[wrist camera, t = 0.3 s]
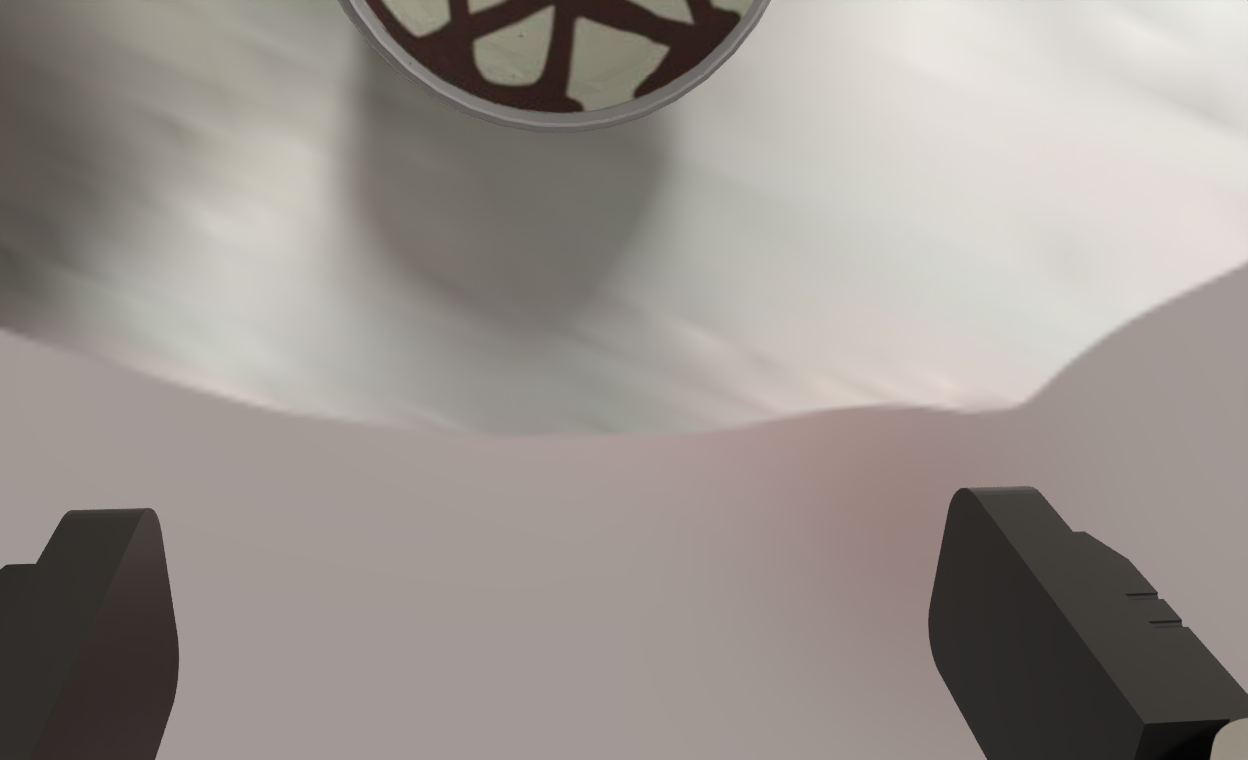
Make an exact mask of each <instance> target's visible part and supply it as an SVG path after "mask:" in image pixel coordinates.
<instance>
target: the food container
mask: <svg viewBox="0 0 1248 760" xmlns="http://www.w3.org/2000/svg"><path fill="white" fill-rule="evenodd" d="M338 1H339V3H340V5H341V7H342V8H343V10H344V12H345V13H346V14H347V16H348V17H349V18H350V20H351V21H352V22H353V24H354V25H355V26H356V28H357V29H358V30H359V32H360V33H361V34H362V36H363V37H364V38H365V40H366V41H367V42H368V44H369V45H370V46H371V47H372V48H373V49H374V50H375V51H376V52H377V53H378V54H380V55H381V56H382V57H383V58H384V59H385V60H386V61H387V62H388V63H389V64H390V65H391V66H392V67H393V68H394V69H395V70H396V71H397V72H398V73H399V74H401V75H402V76H403V77H405V78H406V79H408V80H409V81H410V82H412V83H413V84H414V85H416V86H417V87H419V88H420V89H421V90H423V91H424V92H425V93H427V94H428V95H430V96H432V97H434V98H435V99H437V100H439V101H441V102H443V103H445V104H447V105H449V106H451V107H453V108H455V109H457V110H459V111H461V112H463V113H465V114H468V115H471V116H474V117H477V118H480V119H483V120H486V121H489V122H492V123H495V124H498V125H501V126H507V127H513V128H519V129H524V130H530V131H536V132H579V131H586V130H593V129H600V128H607V127H611V126H614V125H618V124H621V123H624V122H627V121H631V120H634V119H637V118H640V117H644V116H646V115H648V114H650V113H652V112H654V111H656V110H658V109H660V108H662V107H664V106H666V105H668V104H670V103H672V102H674V101H676V100H678V99H679V98H681V97H682V96H684V95H685V94H686V93H688V92H689V91H691V90H692V89H694V88H695V87H697V86H698V85H699V84H701V83H702V82H704V81H705V80H707V79H708V78H709V77H710V76H711V75H712V74H713V73H714V72H715V71H716V70H717V69H718V68H719V67H720V66H721V65H723V64H724V63H725V62H726V61H727V60H728V59H729V58H730V57H731V56H732V55H733V54H734V53H735V52H736V50H737V49H738V48H739V47H740V45H741V44H742V43H743V42H744V40H745V39H746V38H747V36H748V35H749V34H750V33H751V31H752V30H753V29H754V28H755V26H756V25H757V24H758V22H759V20H760V19H761V17H762V15H763V13H764V12H765V10H766V8H767V6H768V5H769V3H770V1H771V0H338Z"/></svg>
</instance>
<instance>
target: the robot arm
mask: <svg viewBox="0 0 1248 760" xmlns="http://www.w3.org/2000/svg"><path fill="white" fill-rule="evenodd" d="M1157 594H1158V592H1157V591H1156V590H1155V589H1154V588H1153V587H1152V586H1151V585H1150V583H1149V582H1148V581H1147V580H1146V579H1145V578H1144V577H1143V575H1142V574H1141V573H1140V572H1139V571H1138V570H1137V569H1136V567H1135V566H1134V565H1133V564H1132V563H1131V562H1130V561H1129V560H1128V559H1127V558H1125V557H1124V556H1122V555H1120V554H1119V553H1117V552H1116V551H1114V550H1112V549H1111V548H1110V547H1108V546H1106V545H1105V544H1103V543H1102V542H1100V541H1099V540H1097V539H1095V538H1094V537H1092V536H1091V535H1089V534H1088V533H1086V532H1073V531H1072V530H1071V529H1070V528H1069V526H1068V525H1067V524H1066V523H1065V522H1064V521H1063V519H1062V518H1061V517H1060V516H1059V515H1058V513H1057V512H1056V511H1055V510H1054V509H1053V507H1052V506H1051V505H1050V504H1049V503H1048V501H1047V500H1046V499H1045V498H1044V497H1043V496H1042V494H1041V493H1040V492H1039V491H1038V490H1037V489H1035V488H1033V487H1030V486H1017V487H981V488H961V489H959V490H958V491H957V492H956V493H955V494H954V496H953V498H952V500H951V503H950V506H949V510H948V515H947V520H946V525H945V530H944V535H943V540H942V545H941V551H940V556H939V561H938V566H937V571H936V577H935V582H934V587H933V592H932V597H931V602H930V609H929V619H928V626H929V639H930V645H931V650H932V654H933V658H934V661H935V664H936V666H937V669H938V671H939V673H940V675H941V676H942V678H943V680H944V682H945V684H946V685H947V687H948V689H949V690H950V693H951V694H952V696H953V698H954V700H955V702H956V704H957V706H958V707H959V709H960V711H961V713H962V715H963V716H964V718H965V720H966V722H967V724H968V726H969V727H970V729H971V731H972V733H973V734H974V736H975V738H976V740H977V742H978V744H979V746H980V747H981V749H982V751H983V753H984V754H985V757H986V758H987V760H1248V694H1247V693H1246V692H1245V691H1244V690H1243V688H1241V686H1240V685H1239V684H1238V683H1237V682H1236V681H1235V679H1234V678H1233V677H1232V676H1231V675H1230V674H1229V673H1228V671H1227V670H1226V669H1225V668H1224V667H1223V666H1222V665H1221V664H1220V662H1219V661H1218V660H1217V659H1216V658H1215V657H1214V656H1213V655H1212V654H1211V652H1210V651H1209V650H1208V649H1207V648H1206V647H1205V645H1204V644H1203V643H1202V642H1201V641H1200V640H1199V639H1198V638H1197V637H1196V635H1195V634H1194V633H1193V632H1192V631H1191V630H1190V629H1189V627H1183V626H1182V620H1181V618H1180V617H1179V616H1178V615H1177V614H1176V613H1175V612H1174V610H1173V609H1172V608H1171V607H1170V606H1169V605H1168V604H1167V603H1166V601H1165V600H1164V599H1158V596H1157ZM178 669H179V648H178V636H177V629H176V623H175V616H174V610H173V603H172V597H171V590H170V584H169V578H168V572H167V564H166V558H165V552H164V545H163V539H162V532H161V528H160V523H159V520H158V517H157V514H156V513H155V511H154V510H152V509H150V508H139V509H104V510H71V511H69V512H67V513H66V514H65V515H64V516H63V518H62V519H61V521H60V523H59V525H58V526H57V528H56V530H55V531H54V533H53V535H52V537H51V538H50V540H49V542H48V544H47V545H46V547H45V549H44V551H43V552H42V554H41V556H40V558H39V559H38V561H37V563H36V564H15V565H14V564H13V565H6V566H4V567H3V568H2V569H0V760H155V758H156V754H157V752H158V749H159V746H160V743H161V740H162V737H163V734H164V731H165V728H166V724H167V721H168V718H169V715H170V712H171V709H172V706H173V703H174V699H175V694H176V688H177V681H178Z"/></svg>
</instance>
